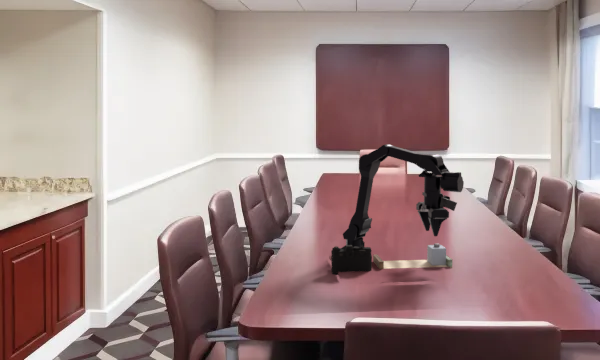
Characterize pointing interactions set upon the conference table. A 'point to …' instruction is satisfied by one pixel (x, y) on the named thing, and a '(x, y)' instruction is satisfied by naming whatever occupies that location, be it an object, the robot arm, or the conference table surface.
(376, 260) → the track
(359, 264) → the camera
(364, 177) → the robot arm
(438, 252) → the block
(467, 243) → the conference table surface
